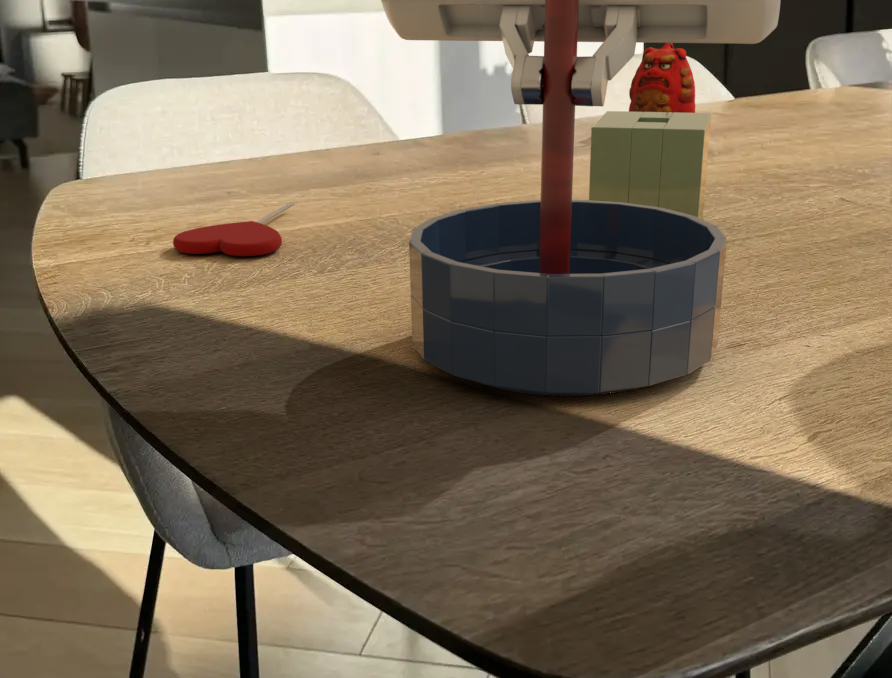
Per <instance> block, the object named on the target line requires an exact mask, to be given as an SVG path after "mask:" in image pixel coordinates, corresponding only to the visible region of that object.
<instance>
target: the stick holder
mask: <svg viewBox="0 0 892 678" xmlns="http://www.w3.org/2000/svg"><path fill="white" fill-rule="evenodd" d="M711 120H712V113H711V112H695V113H677V112H674V113H672V112H629V111H621V110H619V111H617V110H607V111H606V112H605V113H604V114H603V115H602V116H601V117H600V118H599V119H597V121H596V122H595V123H594V124H593V125H592V126H591V129H590V156H589V157H590V158H589V182H588V183H589V184H588V185H589V186H588V200H592V201H609V202H625V203H632V204H639V205H646V206H654V207H661V208H665V209H669V210H673V211H677V212H681V213H685V214H689V215H693V216H696V217H698V218H700V219H702V220H704V219H703V218H704V212H705V200H706V199H705V198H706V185H707V175H708V173H707V172H708V159H709V147H710V136H711V135H710V134H711V123H712V122H711Z"/></svg>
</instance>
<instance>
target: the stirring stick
mask: <svg viewBox="0 0 892 678" xmlns="http://www.w3.org/2000/svg"><path fill="white" fill-rule="evenodd" d="M578 11H579V0H545V31H544V42H543V56H544V74H543V105H542V120H541V121H542V125H541V129H542V130H541V164H540V165H541V169H540V171H541V172H540V200H541V206H540V249H539V273H544V274H569V271H570V242H571V213H572V200H573V181H574V180H573V179H574V150H575V125H576V121H575V120H576V106H575V105H573V97H574V96H572V87H571V84H572V77H573V75H574V74H575V72H574V65H575V61H576V58H577V57H578V42H577V40H578Z"/></svg>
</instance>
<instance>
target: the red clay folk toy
mask: <svg viewBox="0 0 892 678" xmlns="http://www.w3.org/2000/svg"><path fill="white" fill-rule="evenodd" d="M693 74H694V73H693V71H692V68H691V66H690V63H689V61H688V59H687V50H685V49H684V48H683V47H681V48H677V47H676V48H675V47H674V43H664V45H663V46H662V47H660V48H655V47H652V46H649V47H647V48H645V49H644V50H643V52H642V57H641V62H640V64H639V65H638V66H637V69H636V71H635V73H634V76H633V78H632V79H631V83H630V88H629V92H628V95H629V99H630V103H629V107H628V112H672V113H674V112H677V113H696V84H695V79H694V75H693Z"/></svg>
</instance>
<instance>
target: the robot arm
mask: <svg viewBox="0 0 892 678" xmlns="http://www.w3.org/2000/svg"><path fill="white" fill-rule="evenodd" d="M380 2H381V5H382V8H383V11H384V13H385V16H386V18H387V20H388V23H389V24H390V26H391V27H392V29H393V30H394V32H395V33H396V34H397V35H398V36H399V38H401V40H406V41H442V42H443V41H445V42H446V41H448V42H449V41H451V42H452V41H453V42H454V41H455V42H462V41H463V42H502V44H503V49H504V54H505V55H506V58H507V59H508V62H509V64H510V65H511V68H512V73H511V79H510V90H511V95H512V99H513V104H514V105H526V106H527V105H528V106H529V105H540V106H541V105H542V106H543V74H544V55H529V54H531V53H532V52H533V48H534V45H535V42H543V43H544V31H545V0H380ZM780 11H781V0H579V11H578V40H577V43H601V44H600V46H599V47H598V48H597V50H596V51H595V52H594V53H593V55H592V56H577V58H576V61H575V65H574V72H575V74H574V75H573V77H572V84H571V87H572V96H574V97H573V105H575V107H604V105H605V102H606V95H607V91H608V90H607V89H608V83H609V81H612V79H614V77H615V76H616V75H617V74H618V73H619V72H620V71H621V70H622V69H623V68H624V67H625V66H626V64H628V63H629V62H630V61H631V60H632V58H633V57H634V56H635V53H636V47H637V43H638V44H639V43H644V44H645V43H647V44H649V43H651V44H652V43H653V44H654V43H655V44H665V43H673V44H737V45H738V44H739V45H741V44H742V45H755V44H759V43H761V42H762V41H764V40H765V39H766V38H767V37H768V36H769V35H771V33H772V32H773V31H775V30H776V28H777V27H778V25H779V18H780Z"/></svg>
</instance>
